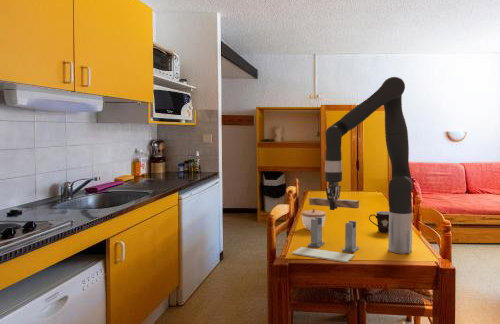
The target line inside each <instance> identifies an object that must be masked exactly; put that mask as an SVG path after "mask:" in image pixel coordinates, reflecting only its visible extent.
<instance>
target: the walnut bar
mask: <svg viewBox="0 0 500 324" xmlns="http://www.w3.org/2000/svg"><path fill="white" fill-rule="evenodd" d="M308 201H309V202H308V205H309V206H318V207H319V206H320V207H330V201H328V200H327V197H325V198H324V197H309V198H308ZM335 207H337V208H343V209H344V208H345V209H359V208H360V200H356V199H340V198H338V199H335Z"/></svg>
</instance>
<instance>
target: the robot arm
mask: <svg viewBox="0 0 500 324" xmlns="http://www.w3.org/2000/svg"><path fill="white" fill-rule="evenodd" d="M405 89H406V84H405V81H404V80H403V79H402V78H400V77H398V76H390V77H388V78H387V79H385V80H384V81H383V83H382V84H381V86H380V87H379V88H378V89H377V90H376V91H375V92H374V93H373V94H371V95H370V96H369V97H368V98H365V100H363V101H362V102H361V103H359V104H358V105H357V106H355V107H354V108H352V109H351V110H349V111H348V112H346V113H345V114H343V116H342V117H341V118H340V119H338V120H337V121H336V122H334V123H332V124H331V125H330V126H328V127H327V128H326V130H325V133H324V134H325V159H324V160H325V162H324V163H325V165H324V181H325V182H328V184H327V185H328V186H327V188H325V193H326V198H327V200H328V201H330V206H329V210H330V211H335V210H336V209H338V207H335V199H340V196H341V189H342V187H341V186H342V185H339V184H340V182H343V163H342V162H343V161H342V160H343V159H342V155H343V154H342V137H343V136H345V135H346V134H347V133H348V132H349V131H352V130H353V129H356V127H357V126H359V125H360V124H362V123H363V122H364V121H365V120H366V119H367V118H369V117H370V116H371V115H372V114H373V113H375V112H376V111H377V110H379V109H380V108H381V107H382V106H383V107H384V108H383V109H384V134H385V135H384V138H385V146H386V151H387V153H388V154H387V155H388V156H389V160H390V165H391V179H390V181H389V184H388V212H389V233H388V243H387V245H388V251H389V252H391V253H395V254H402V255H403V254H405V253H408V255H409V254H411V252H412V251H413V229H412V218H413V217H412V215H413V214H412V211H413V208H412V207H413V206H412V193H413V192H412V189H413V187H414V186H413V185H414V183H413V179H412V175H411V170H410V164H409V163H410V162H409V156H410V154H409V153H410V152H409V150H410V148H409V147H410V146H409V145H410V144H409V133H408V132H409V131H408V127H407V122H406V119H405V116H404V112H403V106H402V105H403V103H402V101H403V100H402V99H403V96H402V95H403V94H404V92H405ZM411 250H412V251H411Z"/></svg>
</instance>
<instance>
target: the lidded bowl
mask: <svg viewBox="0 0 500 324" xmlns="http://www.w3.org/2000/svg"><path fill="white" fill-rule="evenodd" d="M326 215H327V214H326V212H325V211H323V210H318V209H317V210H316V209H315V208H312V209H310V210H303V211H301V219H302V224H303V226H304V227H305V228H306V230H307V231H310V232H311V219H315V217H321V218H322V228H323V227H324V225H325V222H326Z"/></svg>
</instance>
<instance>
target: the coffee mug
mask: <svg viewBox="0 0 500 324" xmlns="http://www.w3.org/2000/svg"><path fill="white" fill-rule="evenodd" d="M373 216H374V217H375V219H376V222H377V224H376V223H375V222H373V221H372V220H371V217H373ZM368 219H369V221H370V222H371V223H372V224H373V225H375V226H376V227H377V232H378V233H381V234H389V210H388V211H386V210H382V211H376V214H369V216H368Z"/></svg>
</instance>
